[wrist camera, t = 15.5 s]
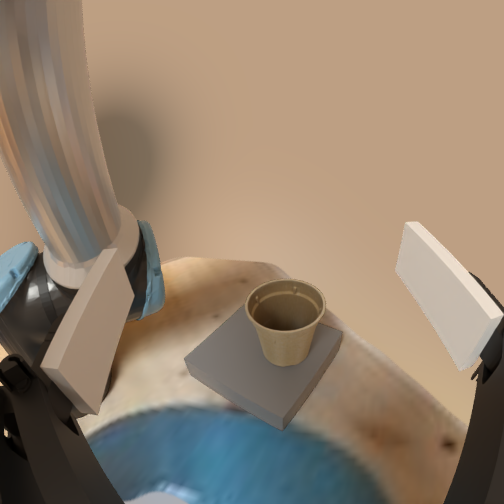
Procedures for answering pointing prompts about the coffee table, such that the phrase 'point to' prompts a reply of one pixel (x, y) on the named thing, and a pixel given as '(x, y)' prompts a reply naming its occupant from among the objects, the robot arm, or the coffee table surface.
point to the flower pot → (285, 318)
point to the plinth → (260, 369)
